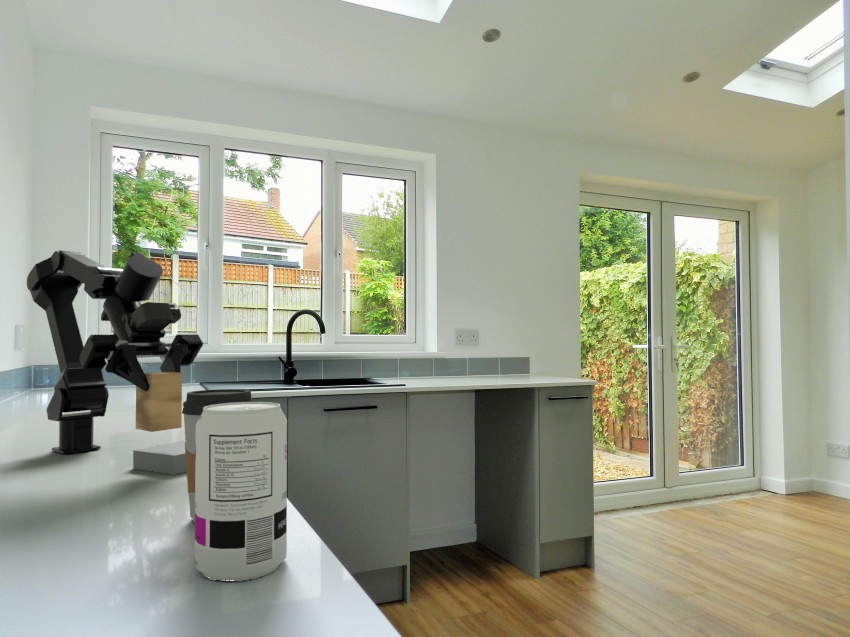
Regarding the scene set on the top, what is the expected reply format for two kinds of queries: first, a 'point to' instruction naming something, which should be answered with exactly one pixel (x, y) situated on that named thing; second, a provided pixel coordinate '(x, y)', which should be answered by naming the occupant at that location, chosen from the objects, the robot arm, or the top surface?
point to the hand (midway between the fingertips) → (163, 387)
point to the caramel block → (160, 402)
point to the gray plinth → (161, 458)
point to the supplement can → (240, 490)
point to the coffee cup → (191, 417)
